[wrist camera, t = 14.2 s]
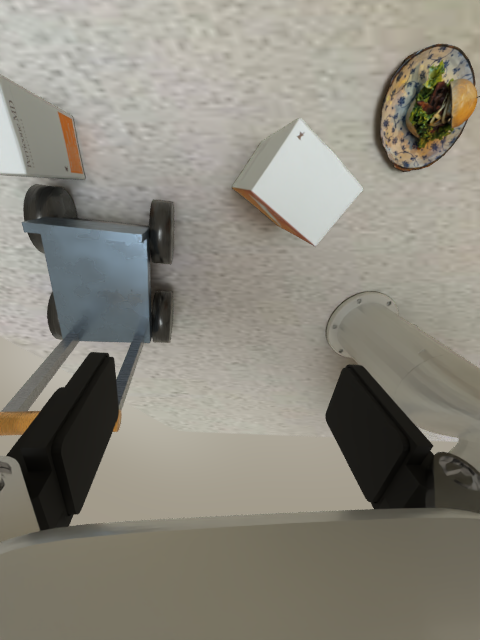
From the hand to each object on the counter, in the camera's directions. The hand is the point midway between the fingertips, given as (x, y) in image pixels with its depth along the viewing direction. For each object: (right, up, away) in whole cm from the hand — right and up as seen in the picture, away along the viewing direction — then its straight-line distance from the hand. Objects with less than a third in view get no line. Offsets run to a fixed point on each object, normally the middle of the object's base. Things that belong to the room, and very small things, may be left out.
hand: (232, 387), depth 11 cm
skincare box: (-19, +22, +17) cm, 34 cm away
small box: (+4, +20, +22) cm, 30 cm away
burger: (+22, +28, +21) cm, 42 cm away
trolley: (-16, +10, +24) cm, 30 cm away
